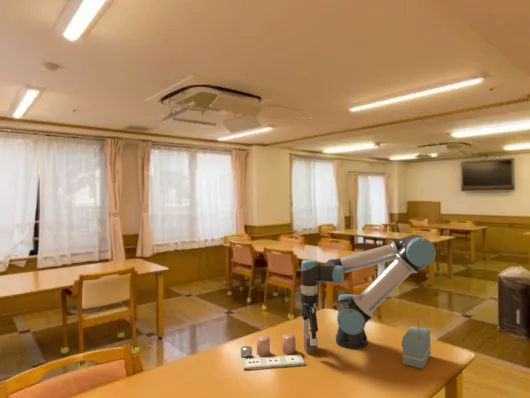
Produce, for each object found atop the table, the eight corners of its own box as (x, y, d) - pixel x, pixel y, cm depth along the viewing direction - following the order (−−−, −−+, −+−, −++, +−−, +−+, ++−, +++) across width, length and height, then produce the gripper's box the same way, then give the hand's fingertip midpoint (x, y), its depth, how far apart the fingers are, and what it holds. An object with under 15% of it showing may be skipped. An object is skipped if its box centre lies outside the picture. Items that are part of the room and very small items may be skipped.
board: (300, 356, 155) (300, 353, 155) (304, 365, 147) (304, 362, 147) (242, 361, 152) (242, 358, 152) (243, 370, 144) (243, 367, 144)
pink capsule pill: (269, 350, 162) (268, 335, 162) (270, 356, 156) (270, 340, 156) (256, 351, 162) (256, 336, 162) (257, 357, 156) (257, 341, 156)
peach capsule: (294, 348, 164) (293, 333, 164) (296, 354, 158) (296, 338, 158) (281, 349, 163) (281, 334, 163) (284, 355, 157) (283, 339, 157)
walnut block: (314, 348, 163) (314, 333, 163) (317, 352, 158) (317, 337, 159) (304, 349, 163) (303, 334, 163) (306, 353, 158) (306, 338, 158)
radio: (409, 351, 158) (408, 307, 158) (430, 356, 153) (429, 311, 153) (400, 365, 145) (399, 317, 145) (423, 371, 140) (422, 321, 140)
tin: (251, 354, 159) (251, 345, 159) (252, 359, 154) (252, 350, 154) (240, 355, 158) (240, 346, 158) (241, 360, 153) (241, 350, 153)
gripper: (295, 286, 173) (295, 329, 173) (308, 301, 148) (308, 351, 148) (310, 286, 174) (310, 328, 174) (325, 301, 149) (325, 350, 149)
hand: (309, 339), depth 161 cm, fingers open, 13 cm apart
